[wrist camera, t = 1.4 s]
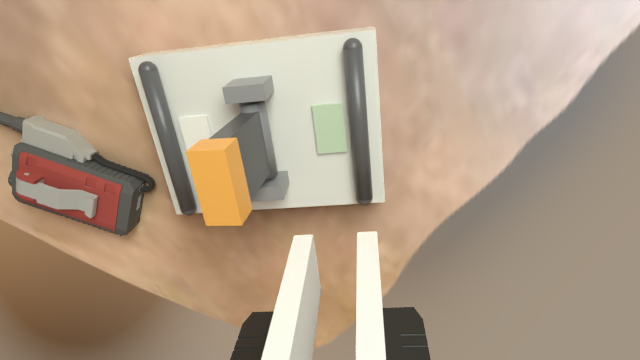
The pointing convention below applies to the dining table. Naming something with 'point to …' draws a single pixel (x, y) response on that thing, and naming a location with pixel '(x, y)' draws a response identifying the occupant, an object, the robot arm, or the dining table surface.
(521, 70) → the dining table surface
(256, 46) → the panel
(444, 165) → the dining table surface
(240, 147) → the lever
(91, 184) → the walkie-talkie
